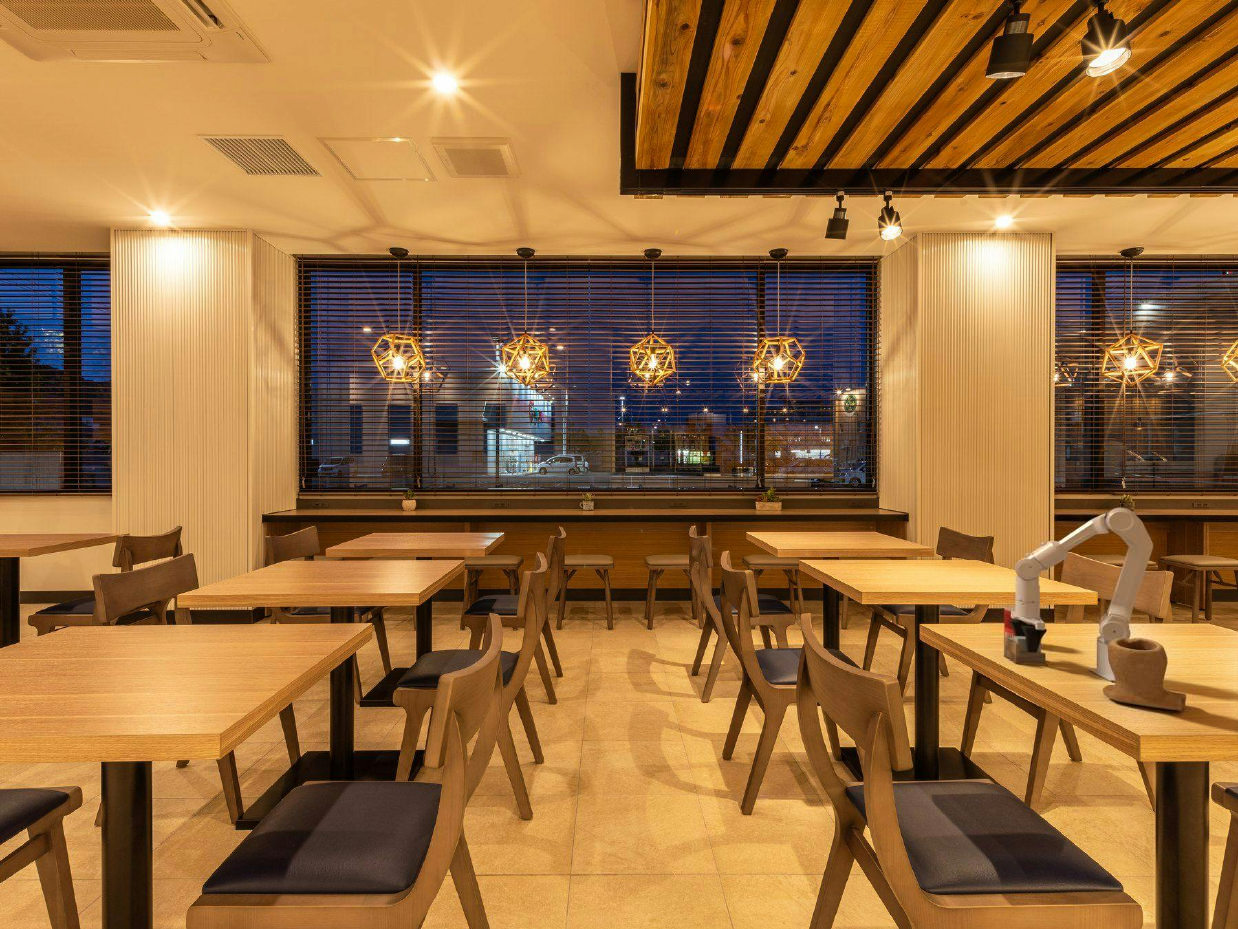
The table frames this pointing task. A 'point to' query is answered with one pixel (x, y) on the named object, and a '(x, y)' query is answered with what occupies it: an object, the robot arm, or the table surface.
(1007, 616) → the canned food
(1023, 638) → the grey square block
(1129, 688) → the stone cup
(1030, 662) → the grey stepped holder
